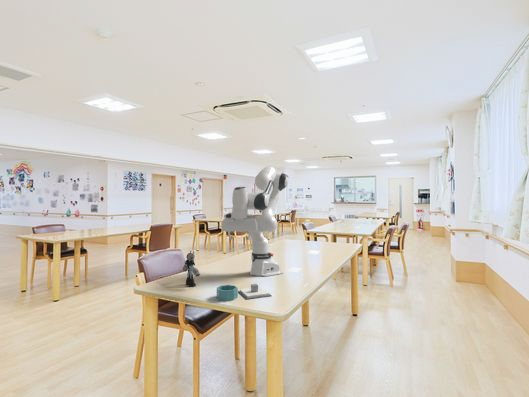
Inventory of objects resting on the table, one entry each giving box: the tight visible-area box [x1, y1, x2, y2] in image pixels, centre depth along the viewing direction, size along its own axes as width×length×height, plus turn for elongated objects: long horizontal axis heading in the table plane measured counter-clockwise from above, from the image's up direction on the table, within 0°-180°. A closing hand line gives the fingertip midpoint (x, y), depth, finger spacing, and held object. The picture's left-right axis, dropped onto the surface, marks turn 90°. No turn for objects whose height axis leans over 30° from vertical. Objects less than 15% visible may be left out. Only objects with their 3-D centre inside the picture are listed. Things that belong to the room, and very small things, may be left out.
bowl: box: [216, 284, 239, 302], centre depth 156 cm, size 10×10×5 cm
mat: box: [238, 290, 272, 300], centre depth 162 cm, size 14×14×1 cm
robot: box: [182, 250, 201, 288], centre depth 179 cm, size 20×5×20 cm, turn 38°
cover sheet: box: [239, 283, 270, 298], centre depth 162 cm, size 12×12×4 cm
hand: (239, 239), depth 172 cm, fingers open, 8 cm apart
